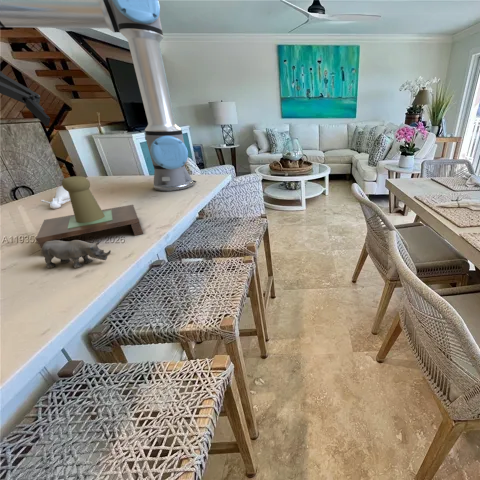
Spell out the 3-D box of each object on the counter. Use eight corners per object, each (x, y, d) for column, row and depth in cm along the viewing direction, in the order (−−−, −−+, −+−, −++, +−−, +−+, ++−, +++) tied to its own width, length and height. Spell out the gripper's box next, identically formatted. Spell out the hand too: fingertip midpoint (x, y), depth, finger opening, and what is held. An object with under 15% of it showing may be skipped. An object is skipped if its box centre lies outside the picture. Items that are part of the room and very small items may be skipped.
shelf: (137, 218, 83) (132, 203, 81) (143, 233, 73) (137, 217, 71) (52, 235, 72) (43, 219, 70) (45, 256, 62) (35, 237, 60)
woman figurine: (84, 182, 104) (72, 197, 90) (89, 193, 106) (77, 209, 93) (46, 185, 99) (26, 202, 86) (51, 196, 102) (33, 215, 88)
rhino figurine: (108, 268, 57) (98, 243, 55) (42, 270, 57) (28, 245, 54) (120, 258, 61) (111, 235, 58) (58, 260, 60) (46, 236, 58)
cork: (102, 212, 74) (87, 173, 69) (106, 218, 70) (90, 177, 65) (74, 218, 70) (56, 177, 65) (77, 224, 66) (57, 181, 61)
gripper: (9, 71, 74) (69, 130, 77) (-154, 58, 53) (-63, 140, 56) (11, 47, 70) (74, 110, 73) (-164, 22, 49) (-66, 112, 52)
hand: (15, 123), depth 64 cm, fingers open, 13 cm apart
